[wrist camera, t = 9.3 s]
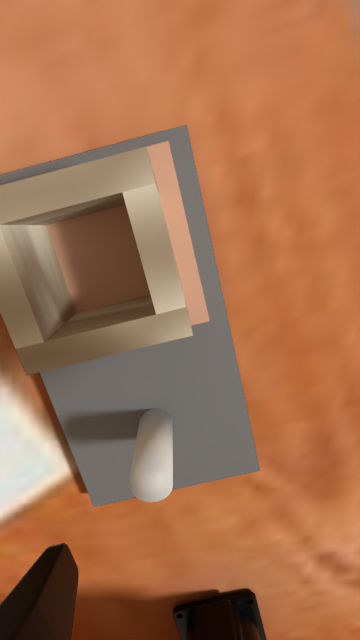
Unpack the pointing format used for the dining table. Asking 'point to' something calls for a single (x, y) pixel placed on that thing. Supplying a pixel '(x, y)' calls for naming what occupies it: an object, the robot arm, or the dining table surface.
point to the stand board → (152, 361)
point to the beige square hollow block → (48, 281)
